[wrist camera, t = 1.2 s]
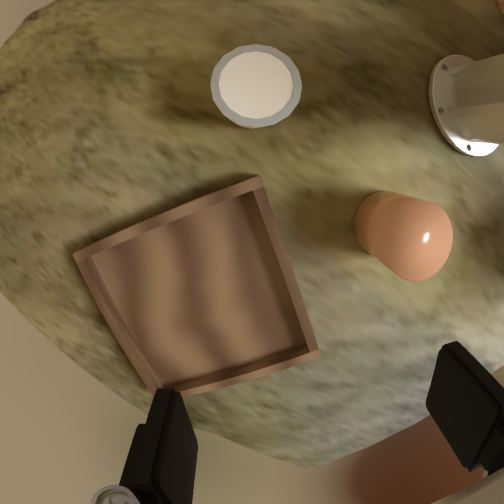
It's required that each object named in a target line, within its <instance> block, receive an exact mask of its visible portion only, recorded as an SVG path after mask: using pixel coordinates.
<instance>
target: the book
mask: <svg viewBox="0 0 504 504" xmlns="http://www.w3.org/2000/svg"><path fill="white" fill-rule="evenodd" d="M495 2H496V4H497V6H498V8H499V10H500V12H501V14H502V16H503V18H504V0H495Z"/></svg>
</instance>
